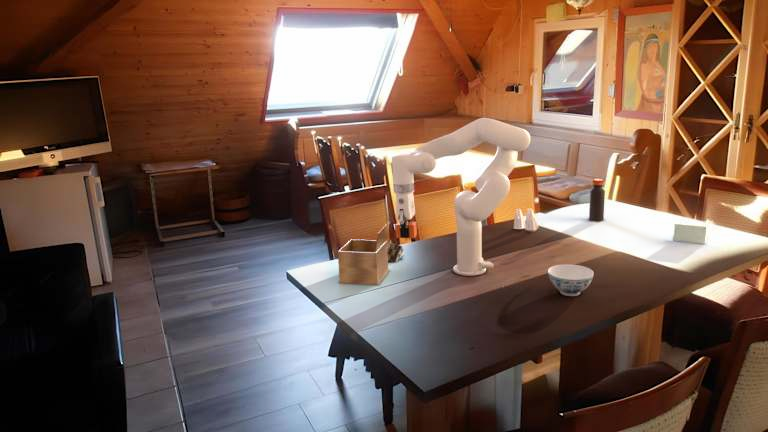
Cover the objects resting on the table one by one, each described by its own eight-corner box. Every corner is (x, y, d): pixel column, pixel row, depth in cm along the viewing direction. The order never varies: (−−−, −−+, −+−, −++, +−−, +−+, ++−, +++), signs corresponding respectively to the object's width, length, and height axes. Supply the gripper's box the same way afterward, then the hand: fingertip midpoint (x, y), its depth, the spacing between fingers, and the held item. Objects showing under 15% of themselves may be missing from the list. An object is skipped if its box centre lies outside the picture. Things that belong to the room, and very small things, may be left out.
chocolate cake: (398, 265, 244) (407, 239, 249) (382, 260, 244) (391, 234, 250) (397, 273, 252) (406, 249, 257) (381, 268, 253) (390, 244, 258)
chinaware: (586, 304, 197) (587, 282, 195) (541, 296, 204) (542, 275, 203) (597, 288, 209) (598, 267, 207) (554, 282, 217) (555, 262, 215)
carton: (388, 270, 236) (387, 240, 233) (377, 285, 222) (376, 253, 219) (352, 269, 240) (350, 239, 237) (339, 282, 226) (337, 251, 223)
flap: (386, 239, 233) (387, 239, 233) (375, 251, 219) (376, 251, 219) (389, 221, 231) (389, 221, 231) (378, 232, 217) (378, 232, 216)
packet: (416, 234, 223) (416, 221, 222) (414, 238, 219) (413, 225, 218) (398, 234, 225) (398, 221, 224) (395, 237, 221) (395, 224, 220)
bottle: (590, 221, 292) (591, 181, 287) (587, 217, 299) (589, 178, 294) (604, 221, 291) (606, 181, 286) (602, 217, 297) (604, 178, 292)
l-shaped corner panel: (707, 236, 261) (709, 219, 259) (704, 244, 251) (706, 226, 249) (677, 233, 267) (678, 217, 265) (673, 240, 257) (674, 223, 255)
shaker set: (539, 231, 279) (539, 208, 276) (533, 233, 276) (534, 210, 274) (518, 227, 288) (518, 204, 285) (512, 228, 285) (513, 206, 283)
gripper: (408, 193, 208) (411, 242, 213) (418, 182, 224) (421, 229, 229) (387, 193, 210) (391, 242, 215) (399, 183, 226) (402, 229, 231)
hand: (406, 235), depth 222 cm, fingers closed on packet, 4 cm apart
